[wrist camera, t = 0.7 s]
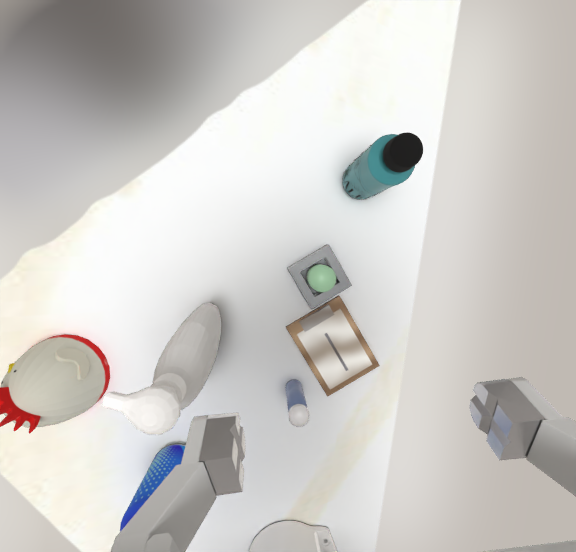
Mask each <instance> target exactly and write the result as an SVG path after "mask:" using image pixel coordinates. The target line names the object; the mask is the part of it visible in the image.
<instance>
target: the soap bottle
mask: <svg viewBox="0 0 576 552" xmlns="http://www.w3.org/2000/svg"><path fill="white" fill-rule="evenodd" d="M220 336H221V316H220V313H219V308H218V307H217V306H216V305H213V304H211V303H205V304H202V305H201V306H200V307H198V308H197V309H196V310H194V311H193V313H192V314H191V315H190V316H189V317H188V318H187V319H186V320H185V321H184V322H183V323H182V324H181V326H180V327H179V328H178V330H177V331H176V332H175V334H174V335H173V336H172V338H171V339H170V341H169V342H168V344H167V345H166V347H165V349H164V351H163V353H162V355H161V357H160V358H159V361H158V363H157V366H156V369H155V373H154V378H153V384H152V385H151V386H150V387H147V388H145V389H143V390H140V391H138V392H134V393H131V394H127V395H125V394H121V393H117V392H110V393H107V394H106V395H105V396H104V398H103V402H102V406H103V407H105V408H109V409H113V410H117V411H121V412H122V413H123V414H124V415H125V416H126V417H127V419H128V420H129V421H130V422H131V423H132V424H133V425H134V426H135V427H136V429H138V430H140V431H142V432H144V433H146V434H148V435H161V434H163V433H165V432H167V431H169V430H170V429H172V428H173V427H174V425H175V423H176V422H177V420H178V418H179V417H180V410H182V409H184V408H186V407H187V406H189V405H190V404H191V402H192V401H193V400H194V399H195V398H196V397H197V395H198V394H199V392H200V391H201V390H202V388H203V386H204V384H205V382H206V380H207V378H208V376H209V374H210V372H211V369H212V367H213V364H214V362H215V359H216V356H217V352H218V346H219V341H220Z"/></svg>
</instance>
